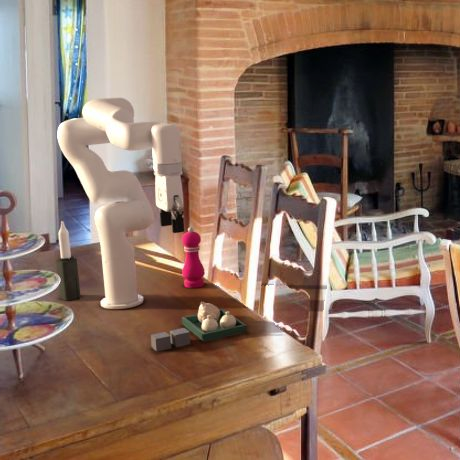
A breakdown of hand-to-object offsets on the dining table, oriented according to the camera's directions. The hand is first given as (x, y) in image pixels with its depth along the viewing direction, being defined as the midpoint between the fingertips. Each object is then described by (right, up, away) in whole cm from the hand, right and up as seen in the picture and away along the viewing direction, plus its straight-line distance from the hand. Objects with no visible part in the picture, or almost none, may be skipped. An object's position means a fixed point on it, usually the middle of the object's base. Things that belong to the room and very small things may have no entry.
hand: (172, 228), depth 225 cm
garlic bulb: (+9, -28, +5) cm, 29 cm away
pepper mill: (-6, -19, +42) cm, 47 cm away
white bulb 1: (+11, -29, -3) cm, 31 cm away
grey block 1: (+1, -32, -12) cm, 34 cm away
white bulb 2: (+16, -28, 0) cm, 33 cm away
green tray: (+11, -29, +2) cm, 31 cm away
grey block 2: (+5, -31, -9) cm, 33 cm away
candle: (-41, -22, +29) cm, 55 cm away
